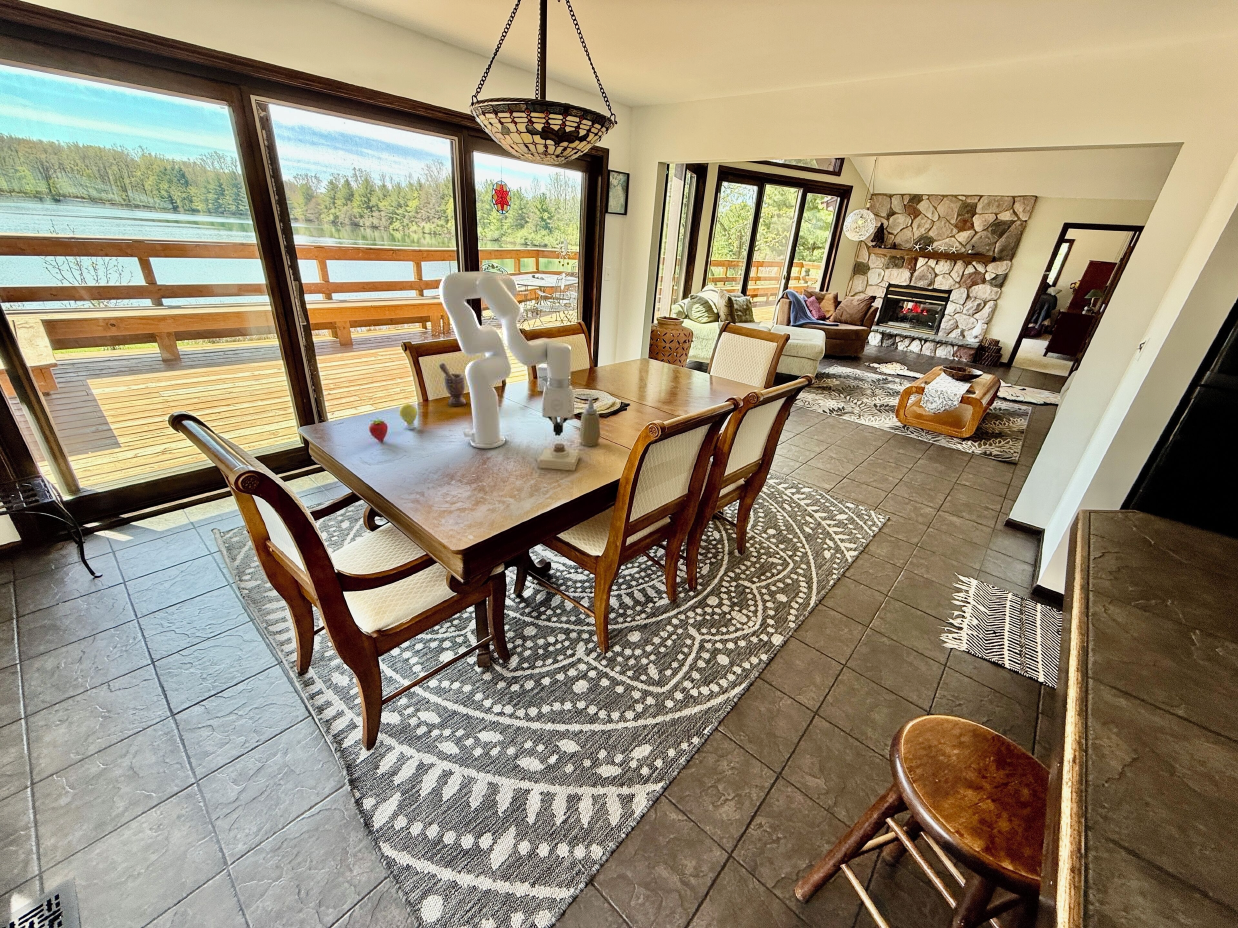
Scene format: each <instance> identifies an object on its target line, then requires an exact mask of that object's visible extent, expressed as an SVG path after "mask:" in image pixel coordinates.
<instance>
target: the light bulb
mask: <svg viewBox="0 0 1238 928" xmlns="http://www.w3.org/2000/svg"><path fill="white" fill-rule="evenodd" d="M398 414H399V416H400V418H401V419H402V420H403V421H404V422H405V427H406V429H407V430H414V429H415V422H414V421H415V420H416V418H417V416H418V409H417V407H416V406H415V405H413V404H411V403H404V404H403V405H401V406H400V407H399V409H398Z"/></svg>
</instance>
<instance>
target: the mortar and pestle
mask: <svg viewBox="0 0 1238 928" xmlns="http://www.w3.org/2000/svg"><path fill="white" fill-rule="evenodd" d="M438 367H439V368H440V371H441V372H442V373H443V374H444V376H443V380H444V381H443V382H444V386H445V387H444V388H445V390H446V392H447V394H448V395H450V399H449V400H448V405H450V406H452V407H461V406H463V405H466V404H467V403H466V402H467V401H466V400H465V398H464V397H462V396H463V394H464V393H465V388H466V382H465V374H464V373H455V372H454V373H451V371H450V369H449V367H448V366H447V365H446V363H444V362H442V363H440V364H439V366H438Z"/></svg>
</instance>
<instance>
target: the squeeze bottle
mask: <svg viewBox="0 0 1238 928" xmlns="http://www.w3.org/2000/svg"><path fill="white" fill-rule="evenodd" d="M597 411H598V408H597V407H596V406H595V405H594V400H593V398H592V397H590V398H588V402H587V406H584V408H583V412H582V413H581V418H580V426H579V439H580V441H581V443H582V444H581V445H583V446H586V447H595V446H596V445H598V444H599V440H600V438H601V425H600V414H599V413H598V412H597Z"/></svg>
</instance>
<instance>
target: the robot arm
mask: <svg viewBox="0 0 1238 928" xmlns="http://www.w3.org/2000/svg"><path fill="white" fill-rule="evenodd" d="M518 290H519V289H518V283H517V282H516V280H515V279H514V277H512V276H511V275H510V274H507V273H501V272H491V271H490V272H489V271H458V272H452V273H449V274H447V275H445V276H444V277H443V278H442V280H441V282H440V284H439V291H438V292H439V297H440V301H441V303H442V306H443V308H444V310H445V312H446V313H447V315H448V317H449V320H450V322H451V326H452V328H453V331H454V334H455V337H456V339H457V342H458V345H459V347H460V349H461V351H462V352H463V354H464V355H465V356H468V357H475V356H479V355H484V354H485V357H481V358H476V359H474V360H472V361H470V362H469V363H468V364H467V365H466V367H465V374H464V375H465V378H466V382H467V385H468V390H469V396H470V404H471V414H472V428H473V429H471V430H470V429H463V435H464V437H465V438H470V440H469V441H470V442H469V443H470V445H471V446H473V447H474V448H476V449H477V448H478V449H494V448H498V447H500V446H502V445H504V444H505V442H506V439H505V436H503V435H502V434H501V426H500V425H501V424H500V412H499V411H500V410H499V397H498V393H497V391H496V389H495V387H494V384H495V383H498V382H502V381H504V380H507V379H508V378H509V377H510V375H511V373H512V365H511V361H510V358H509V355H508V352H507V350H508V351H509V352H510V353H511V355H512V356H513V357H514V358H515V359H516V361H518V362H519V363H520V364H521V365H522V366H525V367H534V366H536V365H539V364H540V365H541V364H545V363H546V364H547V377H543V381H545V382H546V383H547V384H546V385H545V386H544V391H542V392H543V393H542V401H541V402H542V403H541V412H542V417H543V418H545V419H548V420H549V421H550V422H551V423H552V425H553V429H552V430H553V433H554V436H556V437H557V436H558V437H560V436H561V434H563V432H564V424H565V423H566V422H567V421H573V420H574V419H575V414H574V412H575V398H574V397H575V396H574V391H573V386H572V385H571V373H572V371H571V366H572V365H571V364H572V348H571V346H570V345H569V344H568V343H566V342H558V341H554V340H552V339H550V338H547V337H542V338H541V337H540V338H537V339H536V338H535V339H532V340H527V339H526V338H525V337H524V335H523V334H522V333H521V331H520V329H519V326H518V322H519V321H520V320H521V318H522V317H523V314H524V309H523V307H522V306H521V305H520V304H519V302H518V301H517V299H516V296H517V295H518ZM470 299H471V300H473V299H481V300H482V302H483V303H484V304H485V305H486V306H487V308H488V309H489V310H490V312H491V313H492V314H493V316H494V317H495V318H496V319H497V320H498V322H499V323H500V325H501V333H502V334H501V333H500V332H499V330H498V329H497V328H496V327H495V326H492V325H490V324H484V325H480V323H479V320H478V318H477V315H476V313H475V311H474V310H473V309H472V307H471V306H470V305H469V304H468V303H467V301H466V300H470ZM558 418H559V421H558Z"/></svg>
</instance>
